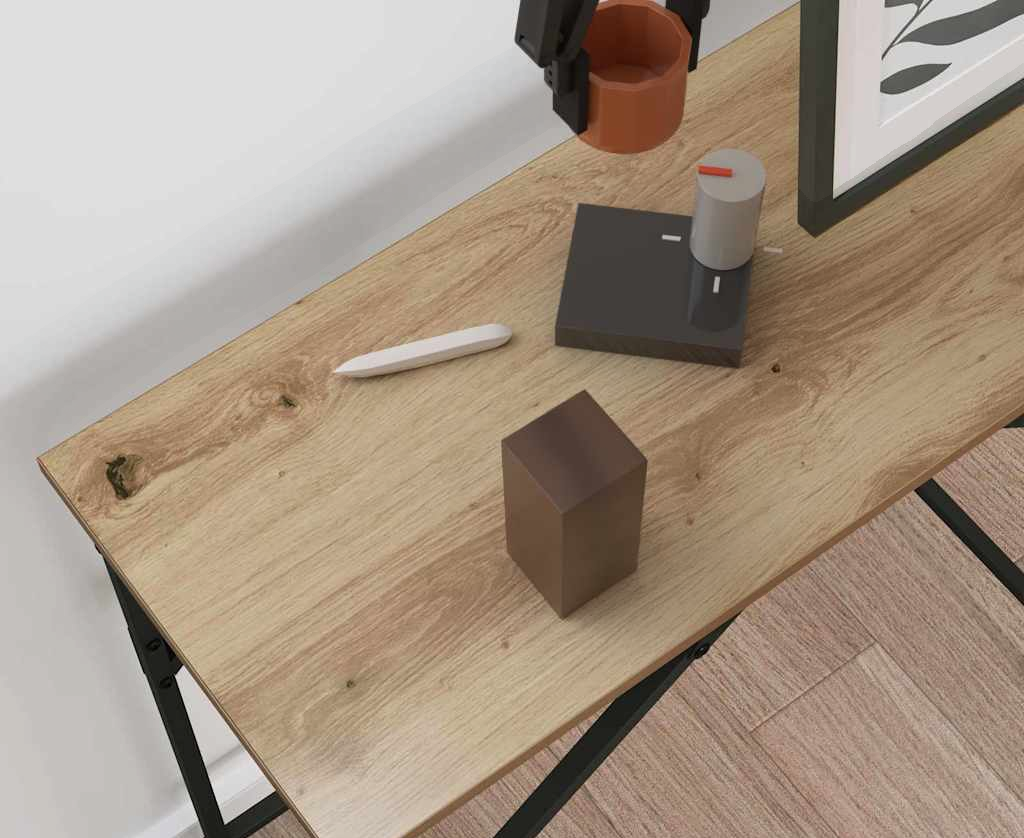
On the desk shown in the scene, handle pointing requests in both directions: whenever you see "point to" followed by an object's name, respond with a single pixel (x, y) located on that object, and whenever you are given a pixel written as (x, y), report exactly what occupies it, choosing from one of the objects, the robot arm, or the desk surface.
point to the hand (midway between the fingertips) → (625, 88)
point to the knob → (727, 208)
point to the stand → (573, 502)
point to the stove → (649, 290)
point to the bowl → (635, 76)
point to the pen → (426, 351)
